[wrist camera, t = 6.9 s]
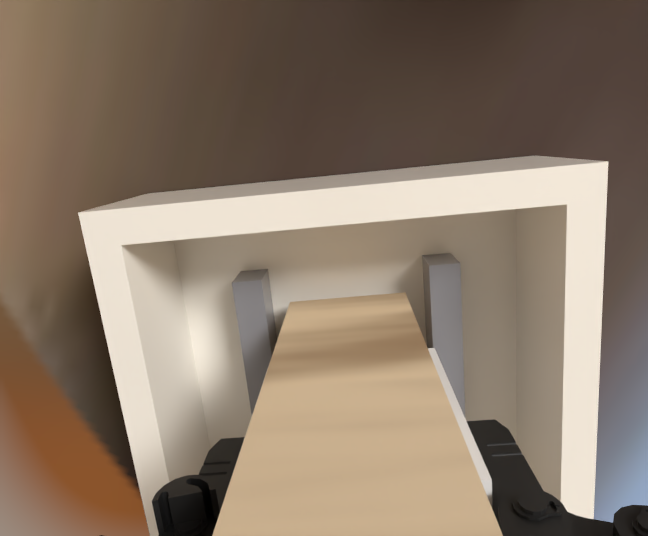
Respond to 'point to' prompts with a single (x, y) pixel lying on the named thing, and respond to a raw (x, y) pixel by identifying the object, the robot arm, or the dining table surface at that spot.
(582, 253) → the white slotted box
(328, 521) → the light wood block
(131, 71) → the dining table surface
